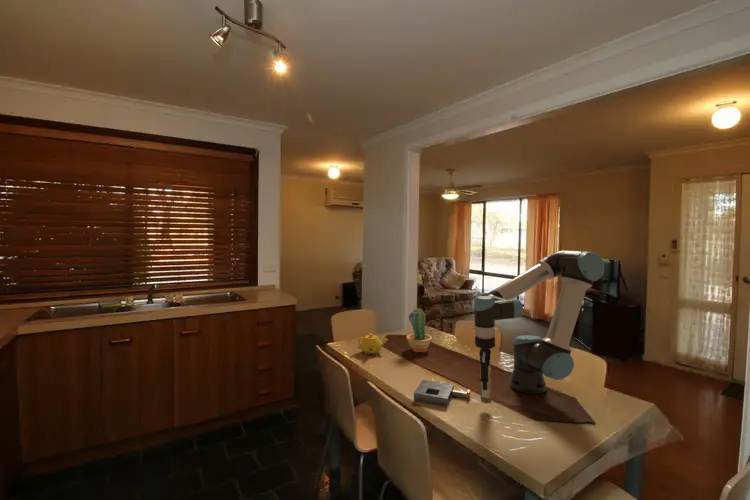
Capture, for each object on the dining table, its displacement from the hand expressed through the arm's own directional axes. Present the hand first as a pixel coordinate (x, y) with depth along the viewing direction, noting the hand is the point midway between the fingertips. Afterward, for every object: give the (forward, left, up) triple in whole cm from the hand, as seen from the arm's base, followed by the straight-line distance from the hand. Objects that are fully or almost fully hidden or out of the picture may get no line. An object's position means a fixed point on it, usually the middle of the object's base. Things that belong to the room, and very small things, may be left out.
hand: (486, 394), depth 137 cm
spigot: (0, 0, -3) cm, 3 cm away
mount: (+22, -4, -6) cm, 23 cm away
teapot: (+68, -44, -7) cm, 81 cm away
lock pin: (+14, -8, -6) cm, 17 cm away
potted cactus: (+44, -59, -7) cm, 73 cm away
